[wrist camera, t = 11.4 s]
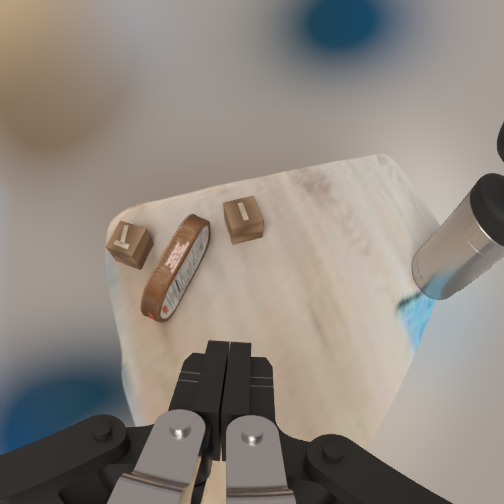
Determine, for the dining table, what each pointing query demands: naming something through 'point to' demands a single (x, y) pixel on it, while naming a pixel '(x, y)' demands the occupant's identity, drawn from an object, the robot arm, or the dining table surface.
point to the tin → (175, 269)
